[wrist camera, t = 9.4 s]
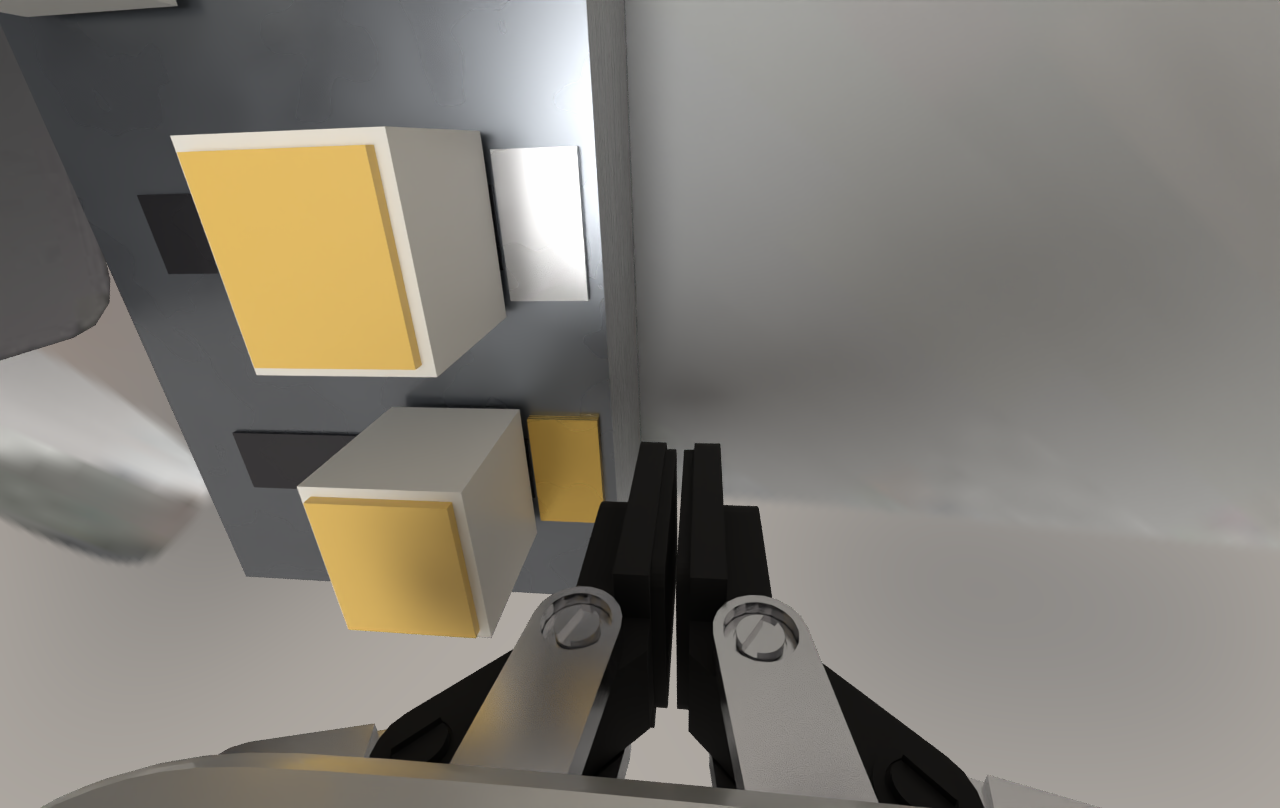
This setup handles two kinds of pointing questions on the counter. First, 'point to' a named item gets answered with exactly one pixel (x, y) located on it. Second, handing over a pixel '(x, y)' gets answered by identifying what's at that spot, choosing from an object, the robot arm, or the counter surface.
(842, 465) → the counter surface
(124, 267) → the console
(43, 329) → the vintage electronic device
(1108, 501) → the counter surface
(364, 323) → the switch
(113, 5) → the switch
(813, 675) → the robot arm
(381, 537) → the switch
